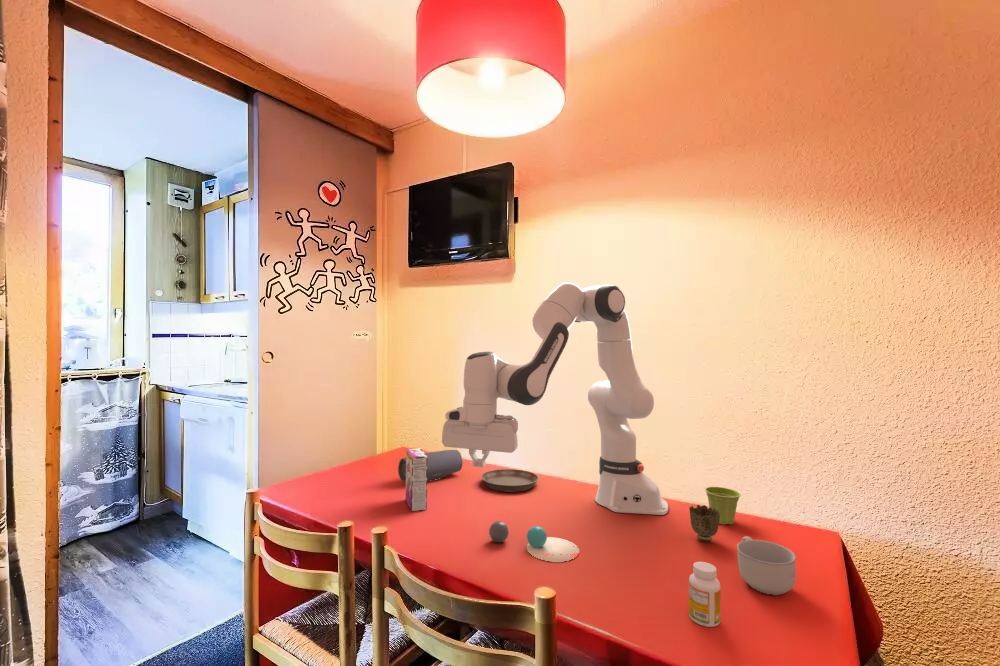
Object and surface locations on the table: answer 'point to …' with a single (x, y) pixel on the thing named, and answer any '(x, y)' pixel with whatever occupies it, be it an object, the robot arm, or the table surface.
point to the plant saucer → (509, 480)
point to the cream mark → (554, 550)
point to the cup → (704, 522)
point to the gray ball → (498, 531)
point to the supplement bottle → (704, 595)
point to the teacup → (766, 566)
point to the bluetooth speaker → (436, 464)
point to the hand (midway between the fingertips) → (478, 466)
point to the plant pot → (723, 503)
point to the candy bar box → (416, 479)
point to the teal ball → (536, 536)
